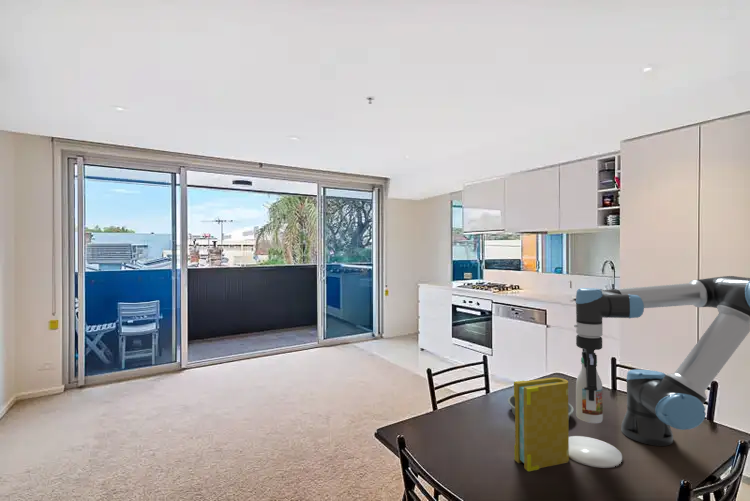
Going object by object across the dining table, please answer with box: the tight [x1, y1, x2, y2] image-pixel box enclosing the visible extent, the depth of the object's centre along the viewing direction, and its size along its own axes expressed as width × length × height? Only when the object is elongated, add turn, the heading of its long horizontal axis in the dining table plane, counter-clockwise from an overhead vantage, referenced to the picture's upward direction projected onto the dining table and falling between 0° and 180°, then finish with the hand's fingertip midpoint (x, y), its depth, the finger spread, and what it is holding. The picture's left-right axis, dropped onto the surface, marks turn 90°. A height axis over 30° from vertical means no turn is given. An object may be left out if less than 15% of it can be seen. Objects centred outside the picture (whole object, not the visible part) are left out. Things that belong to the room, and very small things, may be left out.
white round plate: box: [569, 435, 623, 469], centre depth 128 cm, size 18×18×1 cm
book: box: [513, 377, 570, 472], centre depth 124 cm, size 17×7×25 cm, turn 106°
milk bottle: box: [575, 357, 604, 424], centre depth 128 cm, size 8×8×20 cm
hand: (589, 404), depth 128 cm, fingers closed on milk bottle, 8 cm apart
